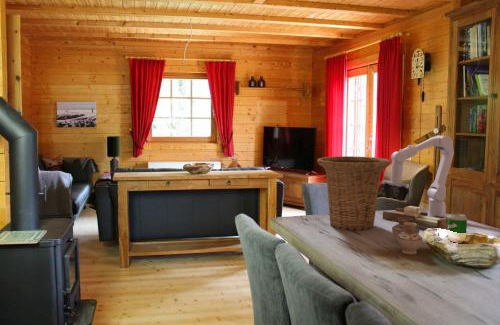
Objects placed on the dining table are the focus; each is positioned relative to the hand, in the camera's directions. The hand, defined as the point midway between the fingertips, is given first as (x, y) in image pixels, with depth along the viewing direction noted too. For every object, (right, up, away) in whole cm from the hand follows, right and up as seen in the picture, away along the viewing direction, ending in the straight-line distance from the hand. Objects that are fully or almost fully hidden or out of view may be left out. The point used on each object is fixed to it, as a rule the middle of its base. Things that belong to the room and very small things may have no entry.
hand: (394, 199), depth 254 cm
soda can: (+13, -15, -47) cm, 51 cm away
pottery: (-12, -16, -56) cm, 60 cm away
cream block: (+7, -8, -7) cm, 13 cm away
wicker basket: (-26, -12, -17) cm, 34 cm away
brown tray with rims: (+9, -11, -9) cm, 17 cm away
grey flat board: (+15, -12, -15) cm, 24 cm away
